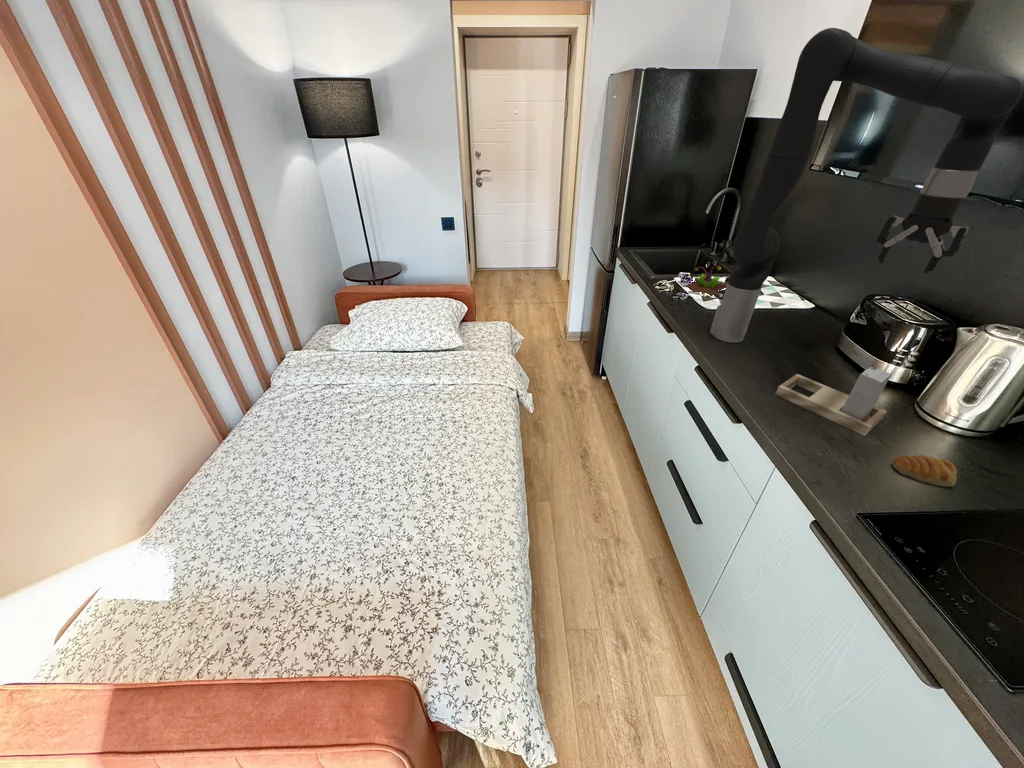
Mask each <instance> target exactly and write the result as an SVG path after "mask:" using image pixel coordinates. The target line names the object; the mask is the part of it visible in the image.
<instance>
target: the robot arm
mask: <svg viewBox="0 0 1024 768" xmlns="http://www.w3.org/2000/svg"><path fill="white" fill-rule="evenodd" d="M792 79H793V80H792V84H791V86H790V87H791V88H790V92H789V95H788V99H787V102H786V103H787V104H786V105H785V108H784V112H783V114H782V116H781V118H780V121H779V124H778V126H777V129H776V131H775V134H774V137H773V139H772V142H771V145H770V148H769V150H768V152H767V155H766V159H765V161H764V163H763V167H762V169H761V172H760V177H759V179H758V182H757V185H756V187H755V190H754V193H753V196H752V198H751V202H750V203H749V207H748V208H747V209H748V210H747V212H746V214H745V216H744V219H743V221H742V223H741V225H740V226H739V229H738V230H737V231H738V232H737V234H736V236H735V238H734V241H733V244H732V256H733V259H734V260H735V262H736V263H738V264H739V265H738V266H737V267H736V268H735V269H734V270H732V271H731V273H730V274H729V276H728V279H727V282H726V284H727V286H726V289H725V293H724V296H723V299H722V302H720V304H719V305H717V307H716V310H715V313H714V316H713V320H712V324H711V327H710V332H709V334H711V335H712V336H713V337H714V338H715V339H718V340H719V341H721V342H725V343H726V342H727V343H732V344H733V343H734V344H735V343H741V342H743V341H744V339H745V337H746V334H747V330H748V329H749V324H750V321H751V319H752V315H753V312H754V311H755V307H756V304H757V303H758V299H759V296H760V293H761V290H762V287H763V284H764V282H765V281H766V280H767V279H768V278H769V276H770V275H771V271H772V270H773V267H774V264H775V262H776V259H777V257H778V254H779V251H780V248H781V247H780V246H781V237H780V234H779V232H778V231H777V230H776V229H774V228H772V227H771V224H772V222H773V220H774V218H775V216H776V214H777V212H778V210H779V209H780V207H781V206H782V205H783V204H784V202H785V201H786V200H787V199H788V197H789V196H790V195H791V194H792V192H793V191H794V189H795V188H796V187H797V185H798V184H799V182H800V180H801V179H802V176H803V174H804V172H805V170H806V167H807V164H808V162H809V159H810V157H811V155H812V152H813V148H814V144H815V140H816V137H817V136H816V135H817V132H818V131H817V129H818V124H819V118H820V113H821V110H822V107H823V105H824V102H825V100H826V97H827V95H828V93H829V90H830V89H831V86H832V84H833V82H845V83H853V84H858V85H862V86H866V87H869V88H871V89H874V90H877V91H879V92H882V93H883V94H887V95H888V96H890V97H891V96H892V97H894V98H896V99H899V100H900V99H901V100H903V101H905V102H906V101H907V102H910V103H914V104H916V105H922V106H925V107H930V108H935V109H941V110H944V111H947V112H950V113H951V114H954V115H957V116H960V119H959V121H958V123H957V125H956V127H955V129H954V131H953V134H952V136H951V137H950V139H949V140H948V141H947V143H946V144H945V146H944V148H943V150H942V151H941V153H940V155H939V157H938V159H937V161H936V162H935V165H934V167H933V169H932V170H931V172H930V173H929V174H928V176H927V178H926V180H925V182H924V184H923V185H922V188H921V189H920V192H919V194H918V196H917V198H916V200H915V202H914V203H913V205H912V208H911V209H910V211H909V213H908V215H907V216H906V217H905V218H904V217H901V216H899V215H897V214H895V215H892V216H889V217H888V218H887V220H886V222H885V223H884V226H883V228H882V229H881V231H880V232H879V235H878V237H877V238H876V243H879V244H881V246H882V250H881V251H880V253H879V255H878V257H877V260H878V261H879V262H878V263H879V264H884V263H886V262H887V261H888V258H889V256H890V254H891V253H892V251H893V248H894V246H893V245H895V244H897V243H898V242H900V241H902V240H903V239H907V241H910V242H914V241H915V242H919V243H922V244H926V243H929V245H930V248H931V249H932V251H933V254H934V255H933V256H931V258H930V260H929V262H928V263H927V265H926V266H925V269H924V270H923V271H922V272H923V273H924V274H929V273H930V272H933V271H934V270H936V269H937V267H938V265H939V263H940V262H941V260H942V259H943V258H944V257H953V256H955V255H957V253H958V252H959V250H960V248H961V246H962V245H963V242H964V240H965V239H966V236H967V234H968V232H969V230H970V226H968V225H964V226H958V225H953V221H954V219H955V217H956V216H957V214H958V212H959V210H960V208H961V207H962V205H963V203H964V201H965V199H966V198H967V196H968V195H969V194H970V192H971V190H972V187H973V185H974V183H975V182H976V179H977V176H978V174H979V172H980V170H981V168H982V167H983V165H984V163H985V161H986V159H987V157H988V155H989V153H990V152H991V150H992V147H993V145H994V141H995V139H996V137H997V135H998V134H999V132H1000V131H1001V129H1002V128H1003V126H1004V125H1005V123H1006V121H1007V120H1008V118H1009V116H1010V115H1011V112H1012V111H1013V110H1014V108H1015V106H1016V105H1018V102H1019V101H1020V100H1021V97H1022V95H1023V85H1022V82H1021V81H1020V80H1019V79H1018V78H1016V77H1015V76H1009V75H1006V74H1005V75H1004V74H999V73H995V72H989V71H982V70H977V69H969V68H968V67H966V66H963V65H961V64H957V63H954V62H950V61H949V62H948V61H945V60H941V59H938V58H937V59H936V58H931V57H926V56H921V55H915V54H914V55H913V54H907V53H901V52H894V51H890V50H887V49H886V50H885V49H883V48H880V47H876V46H874V45H871V44H868V43H867V42H864V41H862V40H860V39H858V38H857V37H855V36H853V35H852V34H851V33H850V32H849V31H847V30H844V29H842V28H836V27H829V28H825V29H822V30H821V31H819V32H817V33H816V34H815V35H813V36H812V37H811V38H810V39H809V41H807V42H806V44H805V45H804V47H803V48H802V50H801V52H800V55H799V56H798V60H797V65H796V68H795V72H794V76H793V78H792ZM899 224H901V226H902V227H901V228H902V230H903V231H902V232H900V233H899V234H897V235H896V236H894V237H893V238H891V239H890V238H889V235H890V233H891V232H892V229H893V228H895V227H897V226H898V225H899ZM949 232H951V237H952V238H953V240H952V242H951V244H950V245H949V248H948V249H945V246H944V241H943V238H942V236H943V235H945V234H948V233H949Z"/></svg>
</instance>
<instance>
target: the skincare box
mask: <svg viewBox="0 0 1024 768" xmlns="http://www.w3.org/2000/svg"><path fill="white" fill-rule="evenodd" d="M891 376H892V373H890V372H888V371H884V370H882V369H879V368H876V367H874V366H873V367H872V366H870V367H868V368H867V369H865V370H864V371H863V372H861V373H860V374H859V375H858V378H857V380H856V382H855V384H854V386H853V387H852V389H851V391H850V393H849V394H848V395H849V397H848V399H847V401H846V402H845V404H844V406H843V408H842V410H841V412H843V413H845V414H848V415H850V416H852V417H854V418H856V419H859V420H861V421H864V420H865V419H866V418H867V417H868V415H869V414H870V412H871V410H872V408H873V407H874V406H876V403H877V401H878V400H879V398H880V396H881V394H882V392H883V391H884V389H885V387H886V385H887V383H888V381H889V380H890V378H891Z"/></svg>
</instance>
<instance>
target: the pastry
mask: <svg viewBox="0 0 1024 768" xmlns="http://www.w3.org/2000/svg"><path fill="white" fill-rule="evenodd" d="M891 465H892V467H893V468H894V469H895V470H896V471H898V473H900V474H901V475H903V476H906V477H909V478H912V479H914V480H916V481H918V482H921V483H926V484H930V485H934V486H938V487H943V488H946V487H947V488H949V487H954V486H955V485H956V482H957V479H958V478H957V474H958V473H957V472H958V471H957V468H956V467H955V465H954V464H953V463H952V462H951V461H949V460H947V459H945V458H944V459H942V458H940V459H939V458H936V457H932V456H928V455H923V454H920V455H906V456H905V455H904V456H899V457H895V459H894V460H893V461H892V462H891Z"/></svg>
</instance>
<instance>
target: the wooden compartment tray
mask: <svg viewBox="0 0 1024 768" xmlns="http://www.w3.org/2000/svg"><path fill="white" fill-rule="evenodd" d="M795 386H797V387H800V388H802V389H804V390H805V391H806V390H807V391H809V392H811V393H813V394H812V395H810V396H807V395H805V394H802V393H800V392H798V391H796V390H794V389H793V388H795ZM774 395H776V396H778V397H780V398H782V399H784V400H786V401H789V402H790V403H792V404H795V405H797V406H799V407H801V408H803V409H805V410H808V411H810V412H813V413H814V414H816V415H818V416H821V417H823V418H825V419H827V420H830V421H832V422H833V423H835V424H838V425H840V426H842V427H844V428H847V429H849V430H851V431H853V432H856V433H857V434H860V435H861V436H864V437H865V436H867V435H868V434H869V433H870V431H872V430H873V428H875V427H876V426H877V425H878V423H880V422H881V421H882V420H883V418H884V416H885V415H886V413H887V412H888V411H887V410H886V409H883V408H880V407H878V406H876V405H874V407H873V408H872V410H871V412H870V414H869V415H868V417H867V418H866V419H865V420H864V421H861V420H859V419H856V418H854V417H852V416H850V415H848V414H845V413H843V412H841V410H842V408H843V406H844V404H845V402H846V401H847V399H848V397H849V395H850V394H847V393H845V392H842V391H839V390H838V389H835V388H832V387H830V386H828V385H825V384H822V383H820V382H818V381H816V380H814V379H811V378H808V377H805V376H803V375H801V374H798V373H795V374H794V375H793V376H792V377H790V378H789V379H787V380H786V381H785V382H783V383H781V384H780V385H778V386H777V389H776V392H775V393H774Z"/></svg>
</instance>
